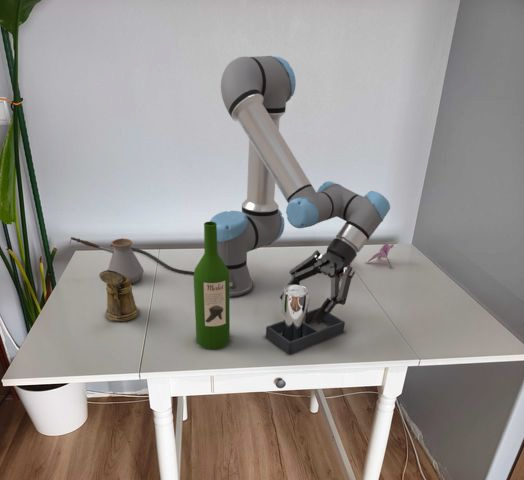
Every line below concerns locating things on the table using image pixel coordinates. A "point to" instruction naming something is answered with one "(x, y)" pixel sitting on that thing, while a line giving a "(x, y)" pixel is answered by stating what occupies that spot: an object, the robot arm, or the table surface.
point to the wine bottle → (211, 294)
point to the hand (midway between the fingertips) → (298, 310)
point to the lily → (383, 252)
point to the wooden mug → (119, 297)
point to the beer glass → (294, 311)
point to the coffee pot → (121, 258)
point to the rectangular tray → (305, 333)
